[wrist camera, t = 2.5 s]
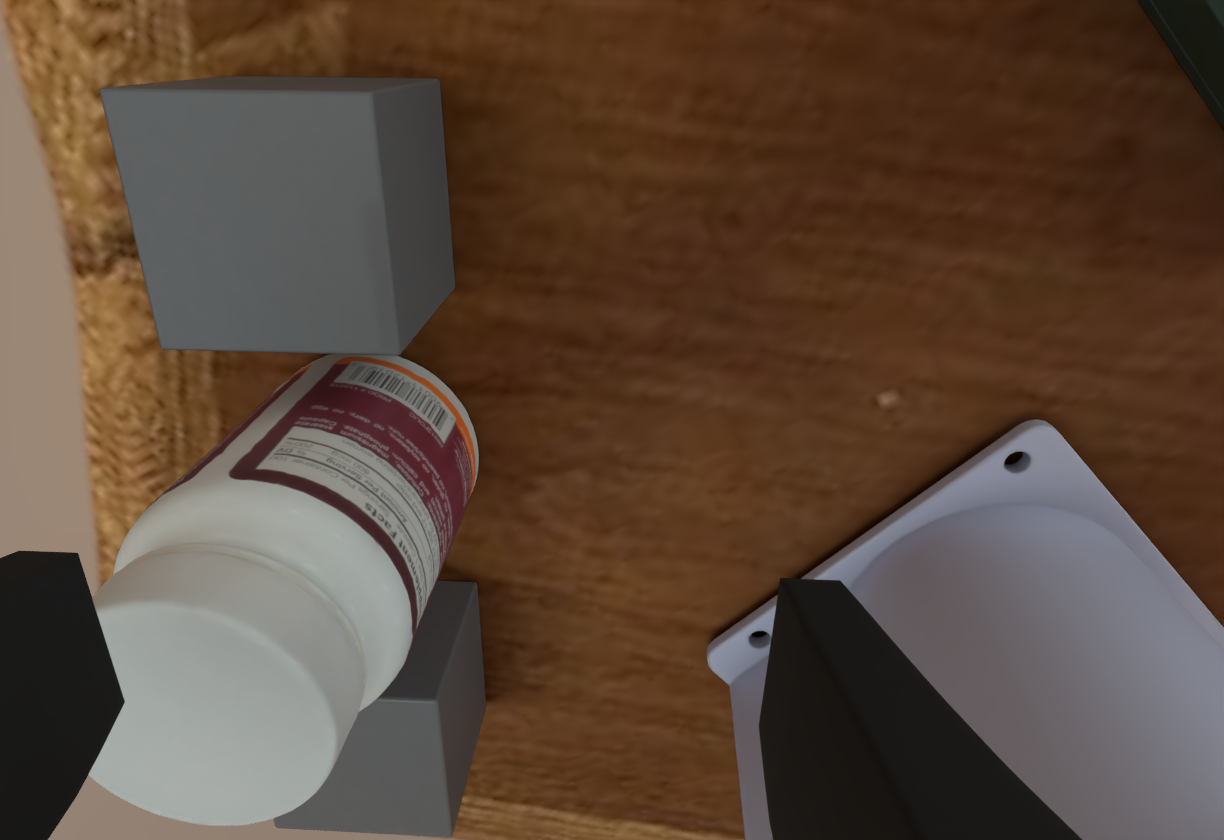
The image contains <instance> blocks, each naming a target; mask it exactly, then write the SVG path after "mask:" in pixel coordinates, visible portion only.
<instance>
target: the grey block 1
mask: <svg viewBox="0 0 1224 840" xmlns="http://www.w3.org/2000/svg"><path fill="white" fill-rule="evenodd" d="M100 95H101V99H102V103H103V108H104V112H105V116H106V120H107V124H108V129H109V133H110V137H111V141H112V145H113V149H114V154H115V158H116V162H117V166H118V170H119V175H120V179H121V183H122V187H123V191H124V196H125V200H126V204H127V208H128V212H129V217H130V221H131V225H132V229H133V233H134V238H135V242H136V246H137V250H138V254H139V258H140V263H141V267H142V271H143V275H144V279H145V284H146V288H147V292H148V296H149V300H150V305H151V309H152V313H153V317H154V321H155V326H156V330H157V334H158V338H159V342H160V347H161V348H162V349H168V350H205V351H243V352H280V353H317V354H354V355H391V356H398V355H400V354H401V353H402V352H403V351H404V349H405V348H406V347H407V346H408V345H409V343H410V342H411V341H412V340H413V339H414V337H415V336H416V335H417V334H418V332H419V331H420V330H421V329H422V328H423V326H424V325H425V324H426V323H427V321H428V320H429V319H430V318H431V317H432V315H433V314H434V313H435V312H436V310H437V309H438V308H439V307H440V306H441V304H442V303H443V302H444V301H445V300H446V298H447V297H448V296H449V295H450V293H451V292H452V291H453V290H454V289H455V276H454V263H453V249H452V236H451V222H450V209H449V196H448V182H447V169H446V156H445V142H444V129H443V115H442V102H441V89H440V81H439V79H437V78H357V77H269V76H227V77H216V78H205V79H194V80H183V81H172V82H161V83H150V84H139V85H128V86H117V87H106V88H102V89H100Z"/></svg>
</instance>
